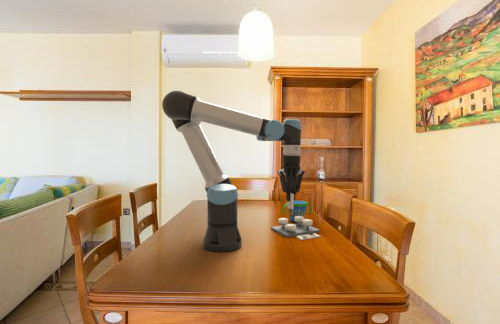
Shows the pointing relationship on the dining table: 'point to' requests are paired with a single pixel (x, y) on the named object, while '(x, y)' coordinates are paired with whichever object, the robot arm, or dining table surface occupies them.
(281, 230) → the button board
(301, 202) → the snack cup
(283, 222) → the button
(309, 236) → the pattern tile
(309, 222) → the button
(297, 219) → the button
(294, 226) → the button
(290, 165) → the robot arm
